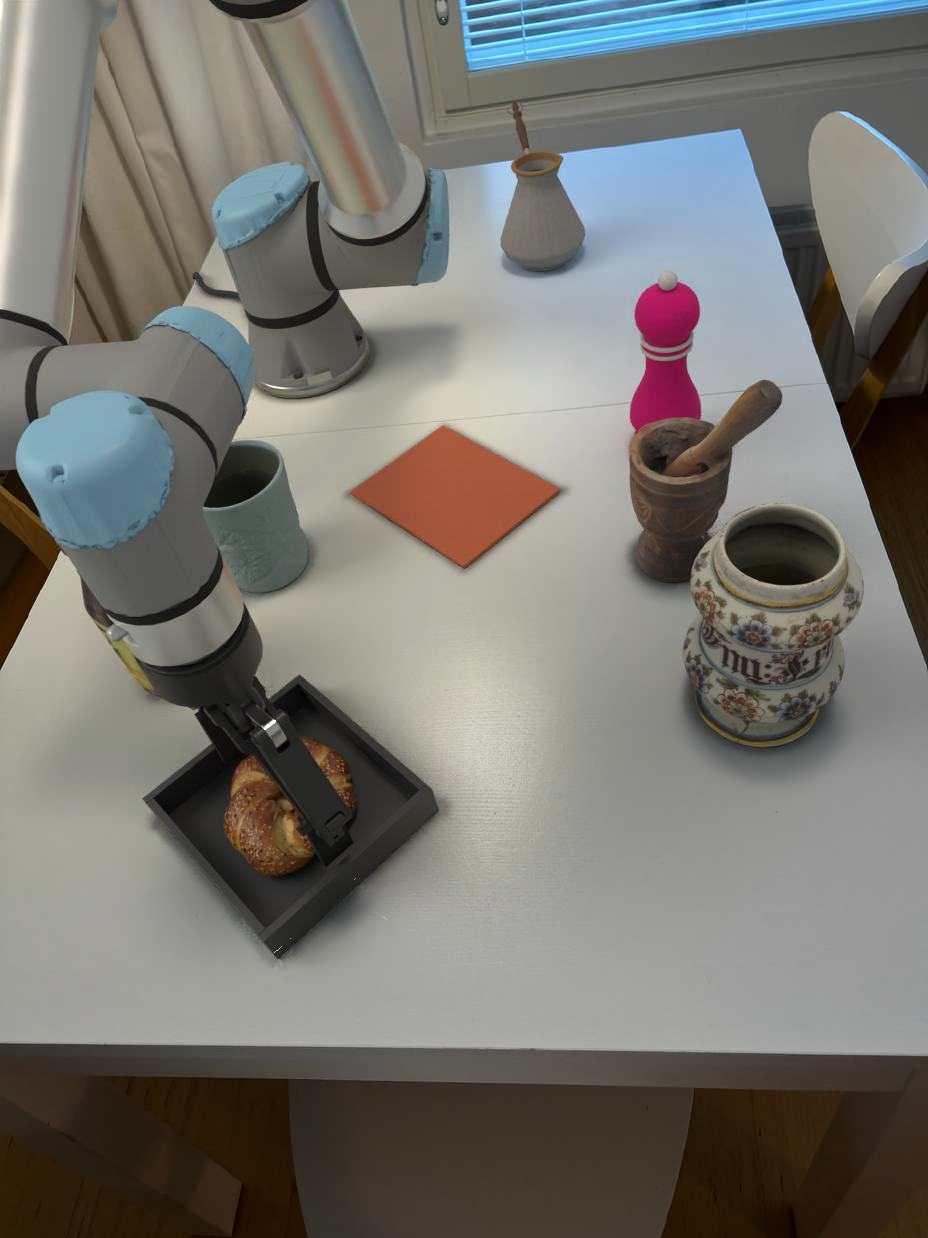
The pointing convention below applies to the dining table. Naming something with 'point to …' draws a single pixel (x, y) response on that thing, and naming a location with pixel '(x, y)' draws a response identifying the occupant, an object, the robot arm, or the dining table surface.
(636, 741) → the dining table surface
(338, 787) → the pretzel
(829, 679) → the apothecary jar
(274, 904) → the tray
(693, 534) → the mortar and pestle
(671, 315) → the pepper mill
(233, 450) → the light blue ceramic cup
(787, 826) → the dining table surface
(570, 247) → the coffee pot
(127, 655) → the sauce bottle
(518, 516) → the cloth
